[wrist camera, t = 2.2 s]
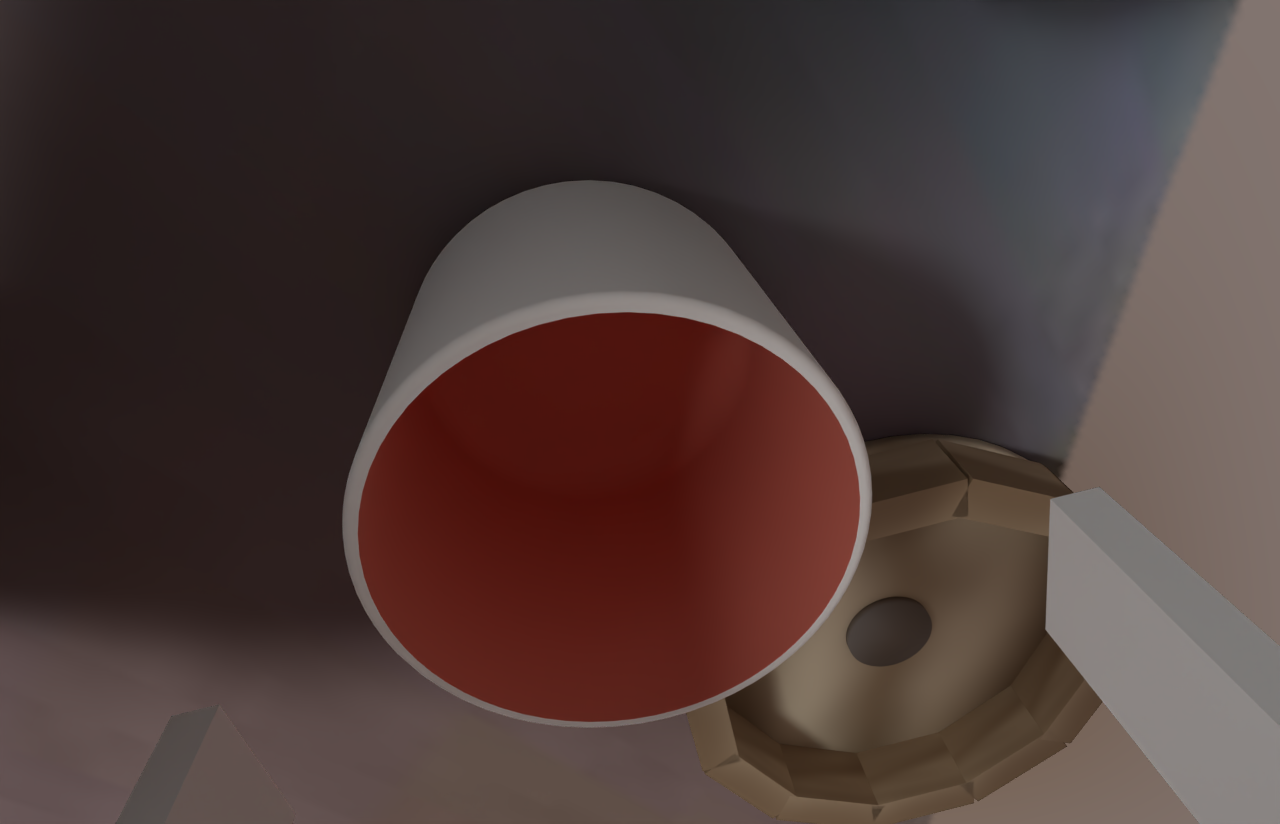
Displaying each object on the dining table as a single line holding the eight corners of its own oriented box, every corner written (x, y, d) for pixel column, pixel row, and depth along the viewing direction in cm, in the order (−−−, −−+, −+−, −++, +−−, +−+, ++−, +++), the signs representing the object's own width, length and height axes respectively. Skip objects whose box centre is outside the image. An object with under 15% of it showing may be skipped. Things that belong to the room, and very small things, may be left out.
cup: (809, 361, 25) (959, 562, 16) (562, 531, 27) (576, 794, 18) (619, 89, 20) (681, 163, 12) (340, 318, 22) (214, 528, 14)
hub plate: (713, 793, 34) (729, 864, 31) (631, 500, 26) (643, 561, 24) (1070, 702, 34) (1118, 766, 31) (1093, 383, 26) (1159, 430, 24)
